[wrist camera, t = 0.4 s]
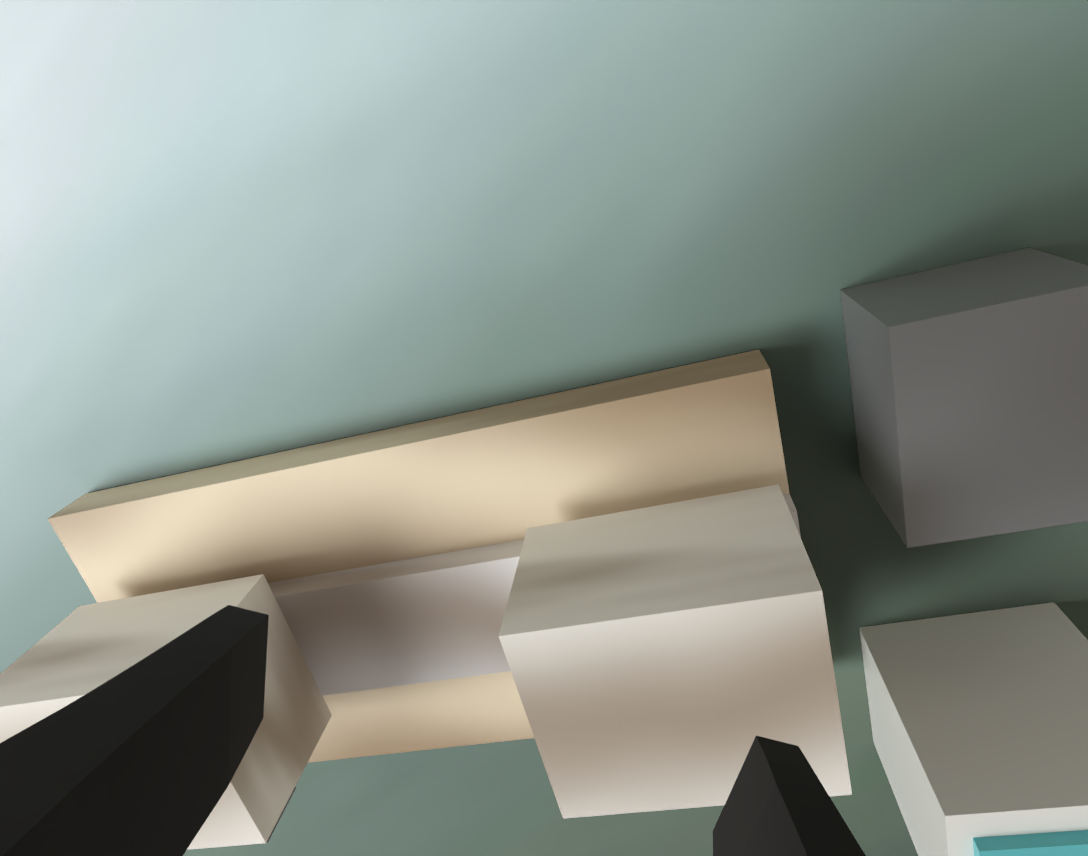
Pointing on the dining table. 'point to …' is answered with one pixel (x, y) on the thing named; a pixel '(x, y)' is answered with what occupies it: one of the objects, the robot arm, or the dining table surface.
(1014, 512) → the box
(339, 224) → the dining table surface
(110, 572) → the board
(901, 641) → the block
